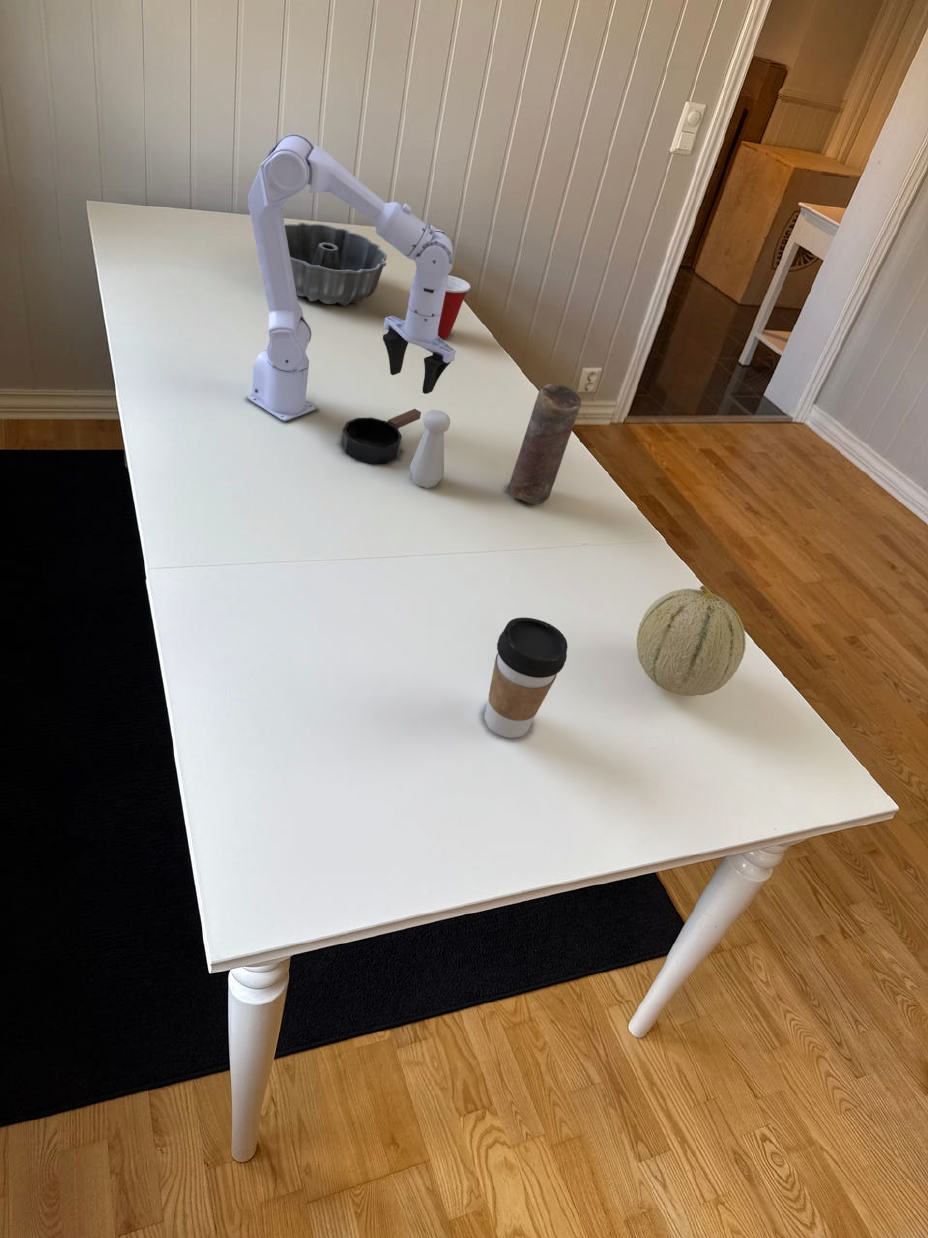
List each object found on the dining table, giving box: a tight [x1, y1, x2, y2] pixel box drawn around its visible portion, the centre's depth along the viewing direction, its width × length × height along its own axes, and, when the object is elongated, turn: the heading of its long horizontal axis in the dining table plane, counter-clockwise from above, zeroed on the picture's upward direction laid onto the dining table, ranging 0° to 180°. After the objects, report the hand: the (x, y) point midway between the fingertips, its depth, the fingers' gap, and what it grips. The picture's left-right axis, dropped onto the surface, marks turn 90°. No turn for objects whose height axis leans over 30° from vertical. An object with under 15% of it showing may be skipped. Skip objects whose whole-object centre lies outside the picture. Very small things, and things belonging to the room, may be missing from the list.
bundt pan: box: [284, 222, 388, 306], centre depth 198 cm, size 26×26×10 cm
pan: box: [340, 408, 422, 465], centre depth 156 cm, size 17×10×4 cm, turn 143°
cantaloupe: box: [636, 585, 747, 697], centre depth 121 cm, size 15×15×15 cm
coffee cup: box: [484, 617, 568, 739], centre depth 108 cm, size 8×8×15 cm
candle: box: [507, 383, 582, 505], centre depth 147 cm, size 8×7×20 cm
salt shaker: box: [409, 409, 451, 489], centre depth 146 cm, size 6×6×13 cm
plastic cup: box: [438, 274, 471, 340], centre depth 193 cm, size 11×11×12 cm
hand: (411, 382), depth 156 cm, fingers open, 7 cm apart
